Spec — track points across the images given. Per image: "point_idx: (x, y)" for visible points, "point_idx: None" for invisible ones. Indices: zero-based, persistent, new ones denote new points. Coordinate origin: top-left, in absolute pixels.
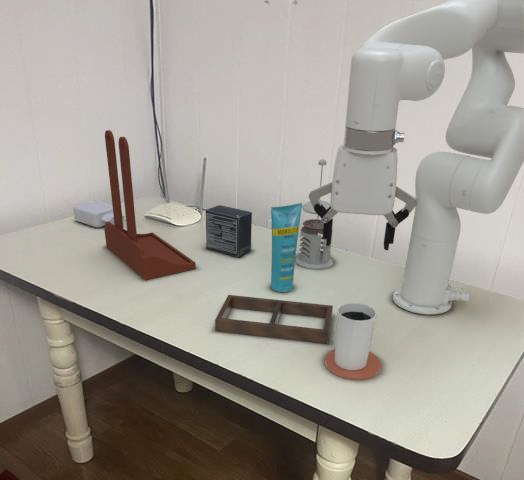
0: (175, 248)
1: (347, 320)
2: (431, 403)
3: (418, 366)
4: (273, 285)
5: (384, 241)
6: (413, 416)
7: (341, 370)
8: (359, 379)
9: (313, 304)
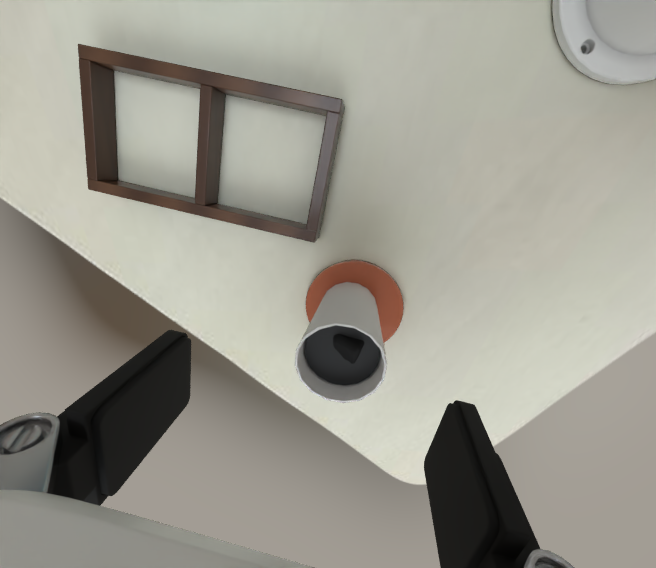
0: None
1: (313, 389)
2: None
3: (472, 317)
4: None
5: (440, 457)
6: (410, 426)
7: None
8: None
9: (292, 95)
